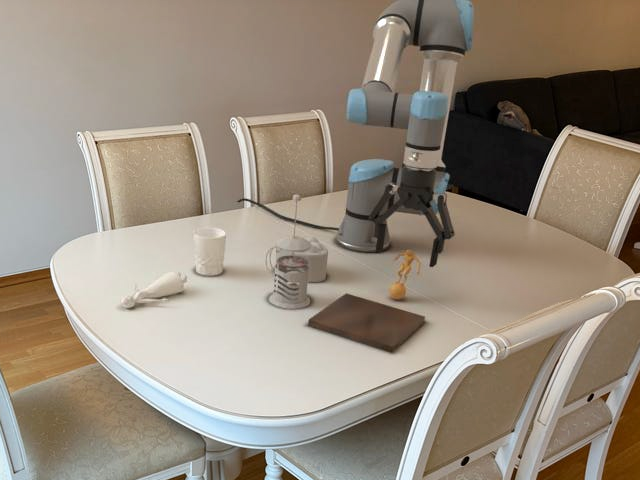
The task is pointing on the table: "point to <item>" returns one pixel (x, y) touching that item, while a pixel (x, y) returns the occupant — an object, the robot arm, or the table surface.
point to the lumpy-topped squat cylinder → (310, 260)
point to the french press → (289, 293)
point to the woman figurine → (156, 290)
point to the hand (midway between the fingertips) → (405, 258)
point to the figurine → (398, 288)
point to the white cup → (209, 250)
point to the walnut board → (367, 322)
